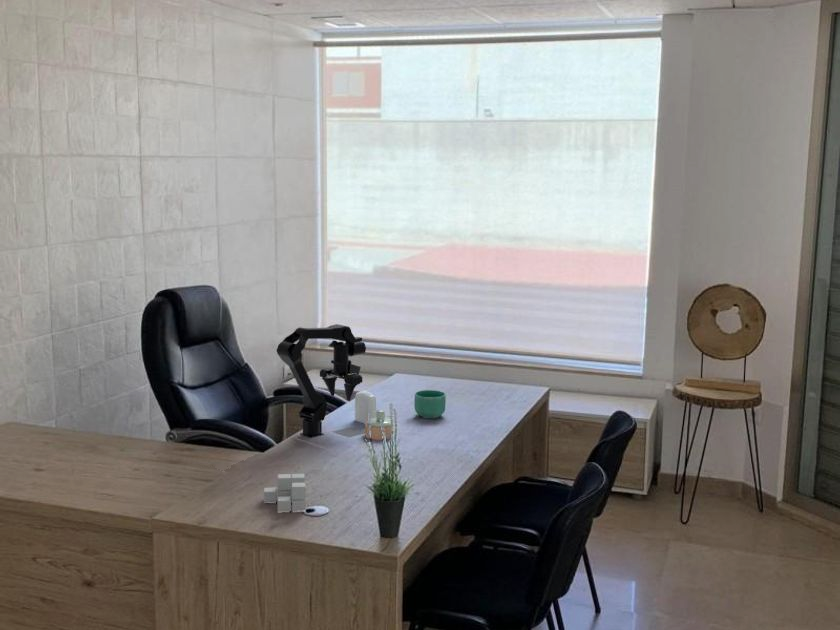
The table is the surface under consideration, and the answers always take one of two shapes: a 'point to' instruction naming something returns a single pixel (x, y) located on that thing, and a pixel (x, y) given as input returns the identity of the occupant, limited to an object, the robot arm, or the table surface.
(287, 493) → the puzzle cube
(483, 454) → the table surface
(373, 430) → the bowl
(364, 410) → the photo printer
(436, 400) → the mug
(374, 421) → the lid
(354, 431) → the mat
